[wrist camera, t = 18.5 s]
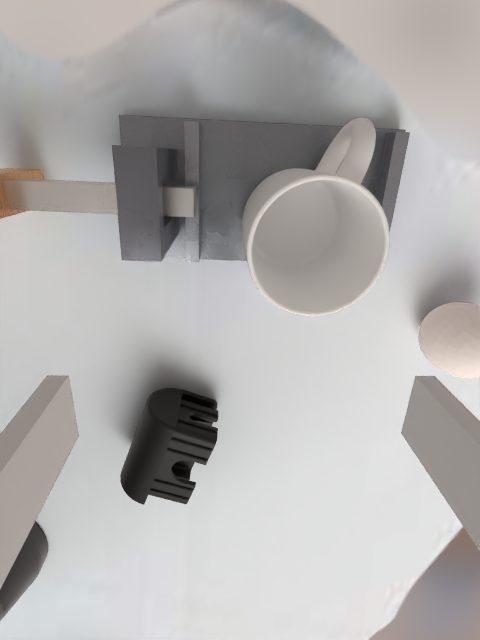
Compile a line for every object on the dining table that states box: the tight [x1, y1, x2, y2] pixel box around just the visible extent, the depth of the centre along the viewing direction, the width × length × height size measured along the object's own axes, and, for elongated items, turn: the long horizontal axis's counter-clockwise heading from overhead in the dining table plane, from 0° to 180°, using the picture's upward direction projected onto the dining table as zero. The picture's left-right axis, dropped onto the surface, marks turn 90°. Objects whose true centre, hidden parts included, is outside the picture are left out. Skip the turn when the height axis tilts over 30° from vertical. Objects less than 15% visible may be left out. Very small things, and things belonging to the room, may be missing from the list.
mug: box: [242, 117, 390, 316], centre depth 26 cm, size 12×8×10 cm
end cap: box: [121, 388, 218, 504], centre depth 38 cm, size 10×7×7 cm
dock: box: [112, 115, 410, 262], centre depth 27 cm, size 22×11×10 cm, turn 87°
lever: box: [0, 168, 196, 219], centre depth 26 cm, size 15×3×8 cm, turn 87°
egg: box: [418, 302, 480, 378], centre depth 33 cm, size 6×6×8 cm
